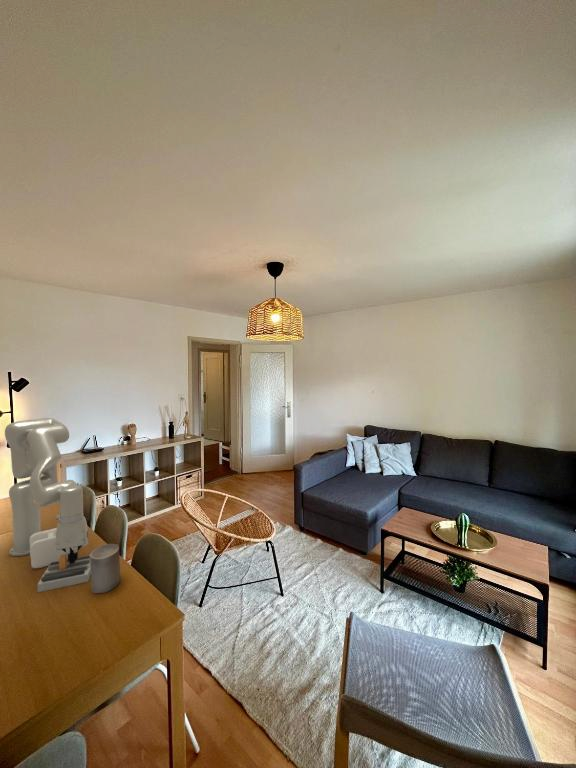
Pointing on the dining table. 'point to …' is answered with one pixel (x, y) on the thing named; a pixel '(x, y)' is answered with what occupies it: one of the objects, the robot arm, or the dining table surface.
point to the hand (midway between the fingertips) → (73, 561)
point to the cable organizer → (44, 548)
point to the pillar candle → (105, 568)
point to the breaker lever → (63, 562)
